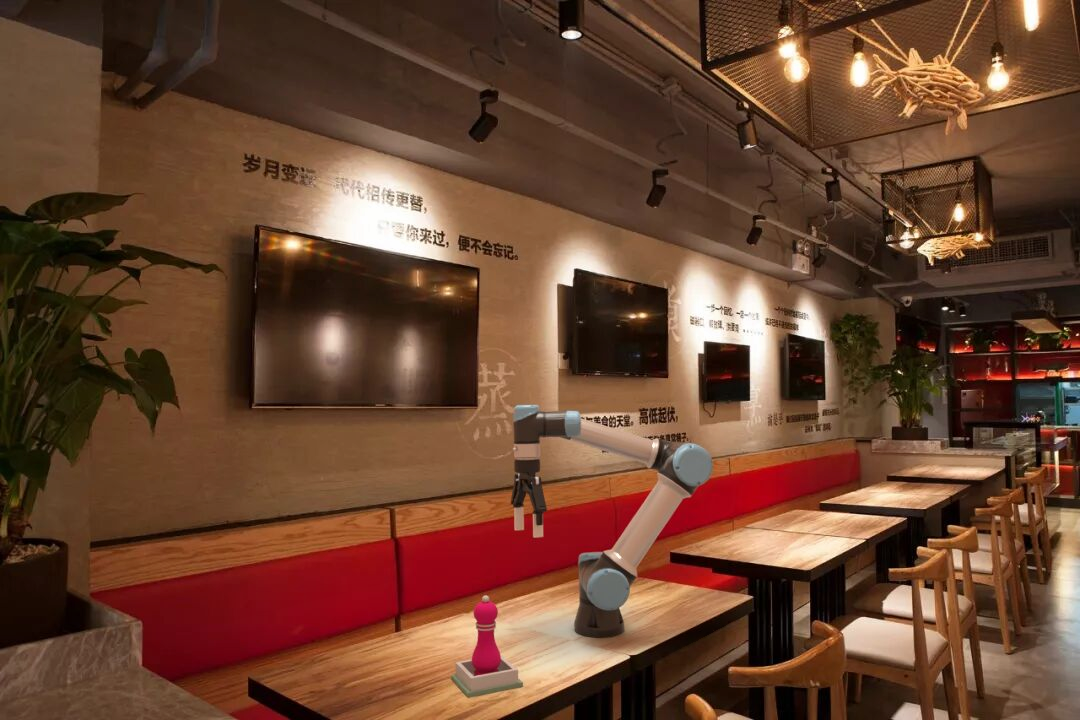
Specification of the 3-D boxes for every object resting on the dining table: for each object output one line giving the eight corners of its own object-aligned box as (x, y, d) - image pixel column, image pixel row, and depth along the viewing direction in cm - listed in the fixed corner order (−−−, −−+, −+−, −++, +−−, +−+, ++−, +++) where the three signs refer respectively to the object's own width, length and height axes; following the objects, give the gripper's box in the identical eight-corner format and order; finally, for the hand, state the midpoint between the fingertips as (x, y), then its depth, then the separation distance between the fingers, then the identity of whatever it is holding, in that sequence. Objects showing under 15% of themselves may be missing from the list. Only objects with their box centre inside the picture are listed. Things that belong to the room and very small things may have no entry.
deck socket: (503, 669, 181) (503, 653, 181) (523, 686, 169) (522, 669, 169) (451, 678, 175) (451, 662, 175) (467, 697, 163) (467, 679, 163)
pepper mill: (496, 685, 168) (495, 599, 169) (468, 683, 169) (467, 598, 171) (504, 673, 175) (503, 592, 176) (476, 672, 176) (475, 591, 178)
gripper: (499, 457, 211) (500, 528, 209) (532, 461, 188) (534, 541, 187) (522, 455, 214) (523, 526, 212) (557, 460, 191) (559, 538, 190)
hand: (528, 533), depth 199 cm, fingers open, 13 cm apart
